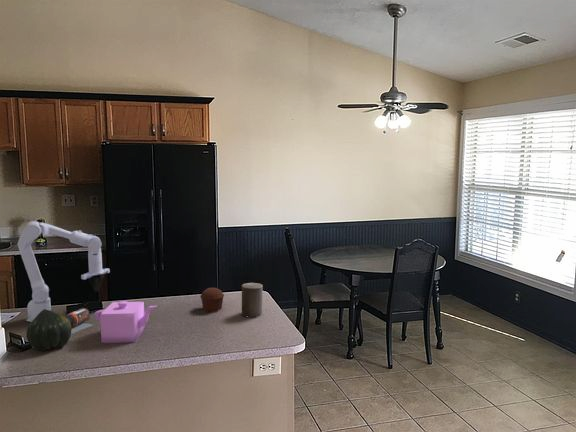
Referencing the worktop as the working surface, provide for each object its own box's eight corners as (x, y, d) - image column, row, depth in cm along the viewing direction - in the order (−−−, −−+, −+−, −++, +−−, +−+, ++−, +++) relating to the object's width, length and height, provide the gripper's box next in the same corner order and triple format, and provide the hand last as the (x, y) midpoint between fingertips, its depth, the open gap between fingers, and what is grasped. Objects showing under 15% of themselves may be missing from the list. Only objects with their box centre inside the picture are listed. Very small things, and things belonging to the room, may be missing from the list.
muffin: (205, 304, 223) (204, 284, 222) (226, 305, 222) (226, 285, 221) (197, 312, 212) (196, 291, 211) (219, 313, 210) (219, 292, 209)
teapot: (153, 341, 177) (152, 307, 176) (88, 343, 176) (86, 308, 174) (161, 327, 192) (160, 295, 191) (101, 329, 191) (100, 296, 189)
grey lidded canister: (243, 318, 204) (243, 286, 202) (240, 311, 213) (240, 280, 211) (264, 316, 206) (264, 285, 204) (260, 310, 215) (260, 279, 214)
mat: (36, 331, 188) (36, 330, 188) (67, 320, 201) (67, 319, 201) (62, 337, 181) (62, 336, 181) (93, 325, 194) (93, 324, 194)
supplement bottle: (91, 320, 198) (72, 330, 188) (80, 320, 200) (60, 329, 189) (89, 307, 198) (70, 316, 187) (78, 307, 199) (59, 315, 189)
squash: (65, 340, 164) (67, 302, 172) (19, 346, 160) (23, 307, 168) (73, 353, 176) (74, 317, 184) (30, 359, 172) (33, 322, 180)
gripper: (88, 266, 200) (90, 296, 201) (113, 260, 213) (115, 288, 214) (77, 264, 203) (78, 294, 204) (103, 258, 216) (104, 286, 217)
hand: (96, 291), depth 210 cm, fingers closed
